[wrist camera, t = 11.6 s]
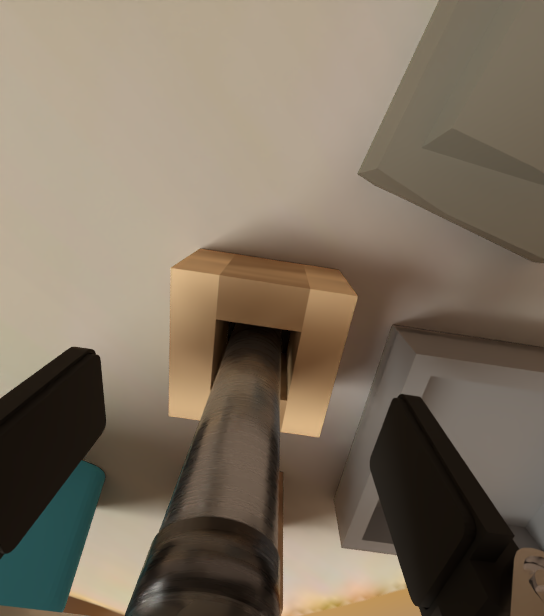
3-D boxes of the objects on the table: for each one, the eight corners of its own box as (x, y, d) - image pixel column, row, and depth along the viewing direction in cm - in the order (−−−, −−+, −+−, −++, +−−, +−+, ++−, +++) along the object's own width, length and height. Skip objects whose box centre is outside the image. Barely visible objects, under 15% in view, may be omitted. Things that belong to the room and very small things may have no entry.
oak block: (200, 248, 14) (170, 267, 11) (338, 269, 14) (358, 296, 11) (193, 367, 17) (168, 416, 13) (311, 384, 17) (319, 437, 13)
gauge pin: (239, 298, 15) (115, 587, 4) (285, 305, 15) (292, 610, 4) (234, 339, 16) (124, 668, 5) (278, 346, 16) (267, 686, 5)
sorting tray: (392, 324, 15) (416, 353, 13) (643, 362, 16) (722, 399, 13) (333, 499, 21) (341, 547, 18) (523, 525, 21) (560, 577, 18)
